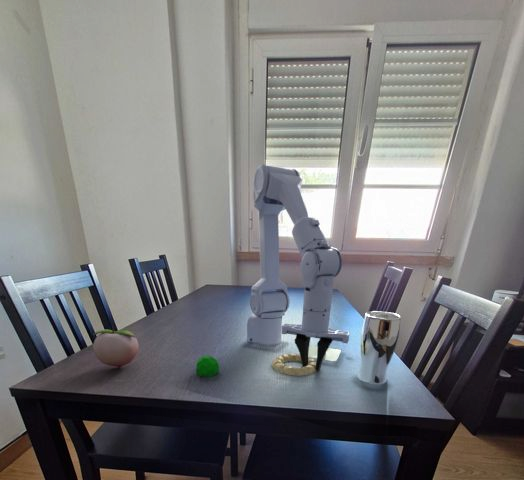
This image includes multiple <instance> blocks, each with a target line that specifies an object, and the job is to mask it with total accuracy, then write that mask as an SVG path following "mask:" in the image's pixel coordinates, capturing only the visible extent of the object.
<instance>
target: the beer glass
mask: <svg viewBox="0 0 524 480" xmlns="http://www.w3.org/2000/svg"><path fill="white" fill-rule="evenodd" d="M401 321H402V316H401V315H399V314H397V313H394V312H388V311H380V310H379V311H378V310H373V311H366V312H365V315H364V320H363V323H362V328H361V333H360V365H359V370H358V374H357V379H358V380H359V381H361V382H363V383H366V384H370V385H377V386H378V385H379V386H380V385H384V384H385V383H387V374H388V373H387V372H388V368H389V365H390V363H391V360H392V358H393V356H394V354H395V353H394V352H395V351H396V348H397V345H398V340H399V337H400V329H401Z"/></svg>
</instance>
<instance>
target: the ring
mask: <svg viewBox="0 0 524 480" xmlns="http://www.w3.org/2000/svg"><path fill="white" fill-rule="evenodd" d="M287 362H301V363H302V360H301V356H300V353H285V354H282V355H278V356H277V357H276V358H274V360H273V361H272V363H271V365H272V368H273V370H275V371H277V372H279V373H280V374H284V375H290V376H308V375H312V374H314V373H316V372H317V370H316V362H317V360H315V358H311V357H308V365H307V366H305V367H302V366H298V367H297V366H296V367H294V366H289V365H286V364H285V363H287Z"/></svg>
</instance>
